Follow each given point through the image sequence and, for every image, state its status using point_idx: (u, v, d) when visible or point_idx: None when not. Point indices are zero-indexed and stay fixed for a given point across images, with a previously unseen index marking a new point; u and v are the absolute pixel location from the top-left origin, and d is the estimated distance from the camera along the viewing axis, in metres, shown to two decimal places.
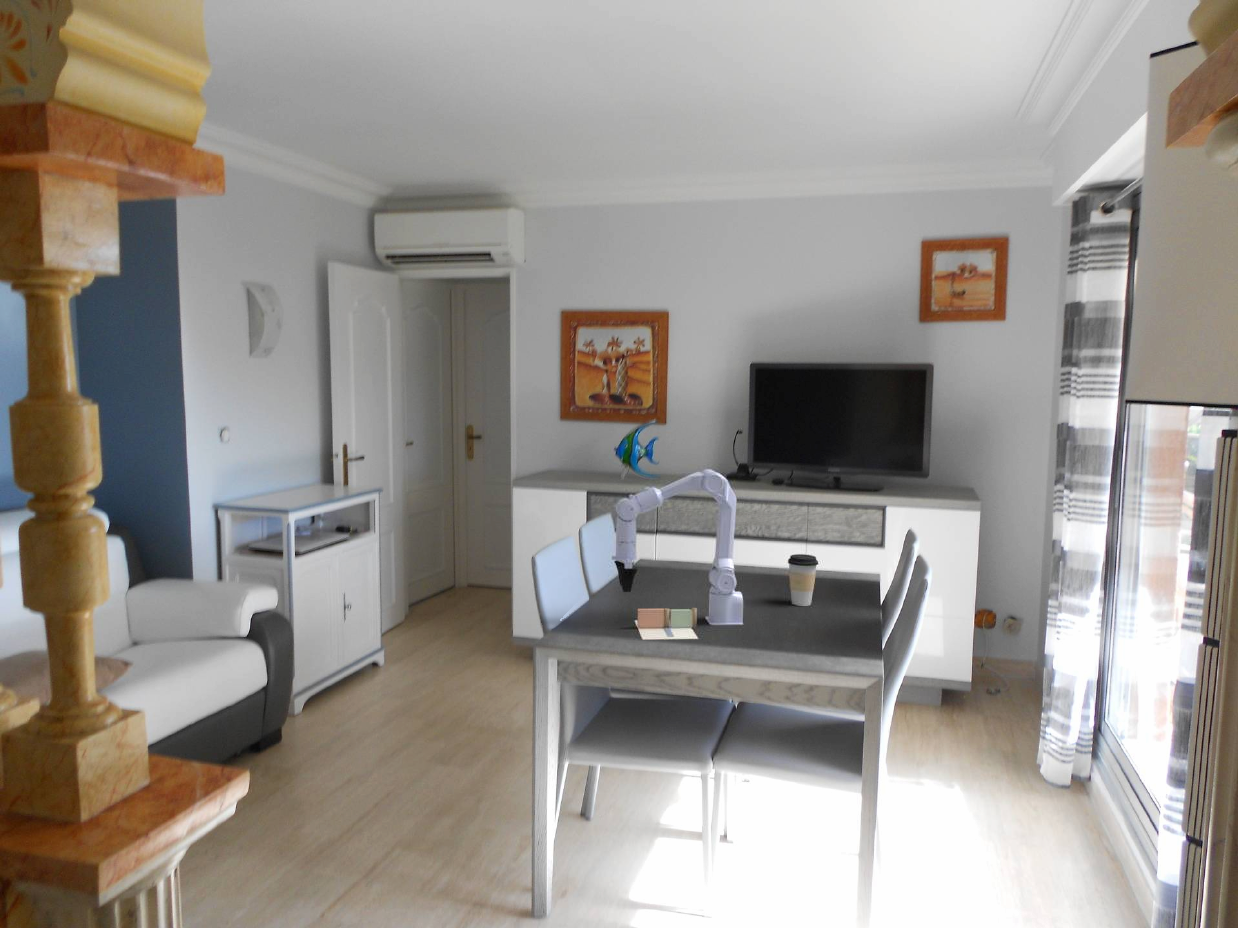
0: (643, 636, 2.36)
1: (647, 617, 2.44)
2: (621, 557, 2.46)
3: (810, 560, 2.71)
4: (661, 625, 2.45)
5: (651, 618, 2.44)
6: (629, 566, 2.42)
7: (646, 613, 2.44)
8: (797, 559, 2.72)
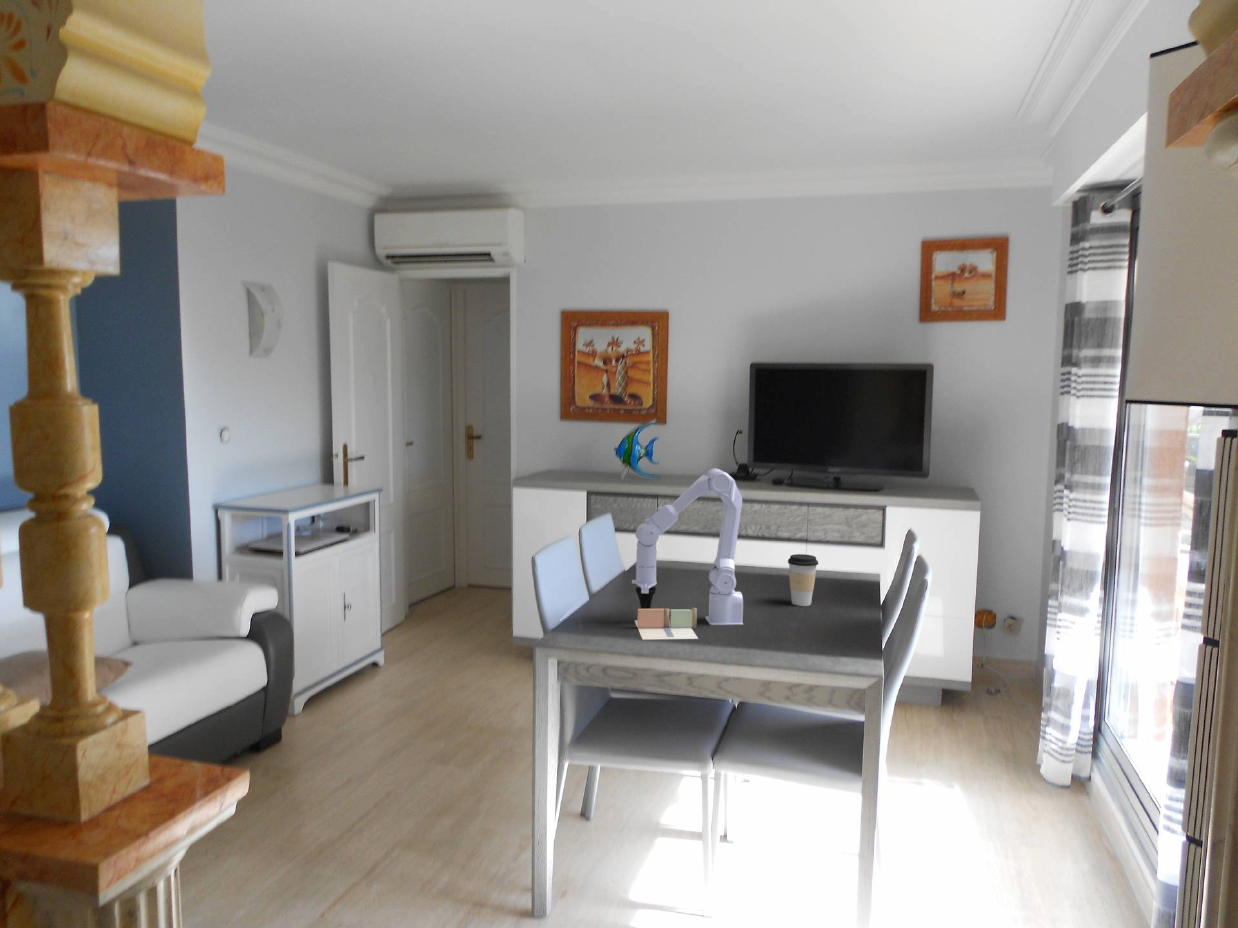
0: (643, 636, 2.36)
1: (647, 617, 2.44)
2: (640, 581, 2.48)
3: (810, 560, 2.71)
4: (661, 625, 2.45)
5: (651, 618, 2.44)
6: (645, 591, 2.43)
7: (646, 613, 2.44)
8: (797, 559, 2.72)
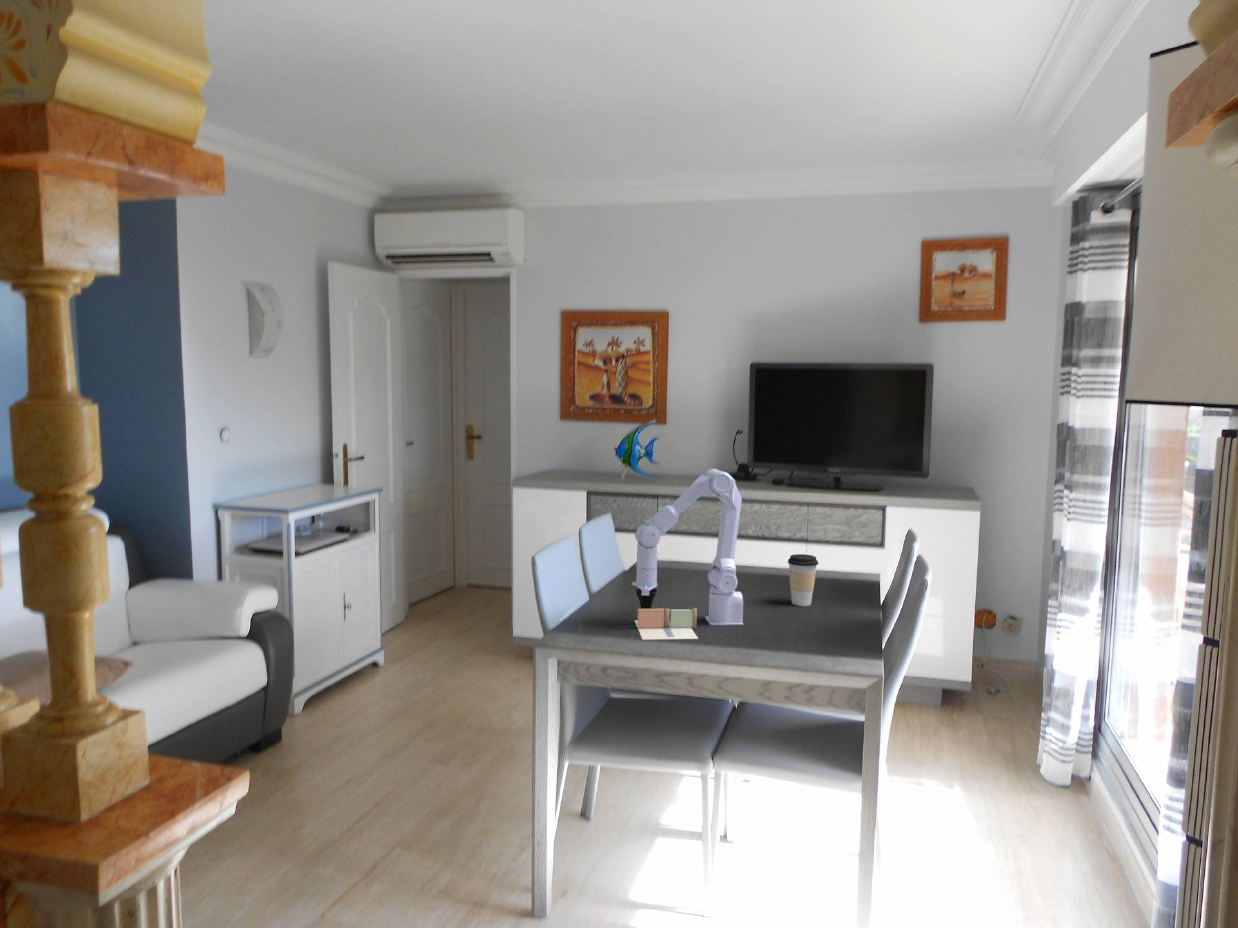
0: (643, 636, 2.36)
1: (647, 617, 2.44)
2: (640, 583, 2.46)
3: (810, 560, 2.71)
4: (661, 625, 2.45)
5: (651, 618, 2.44)
6: (646, 593, 2.41)
7: (646, 613, 2.44)
8: (797, 559, 2.72)
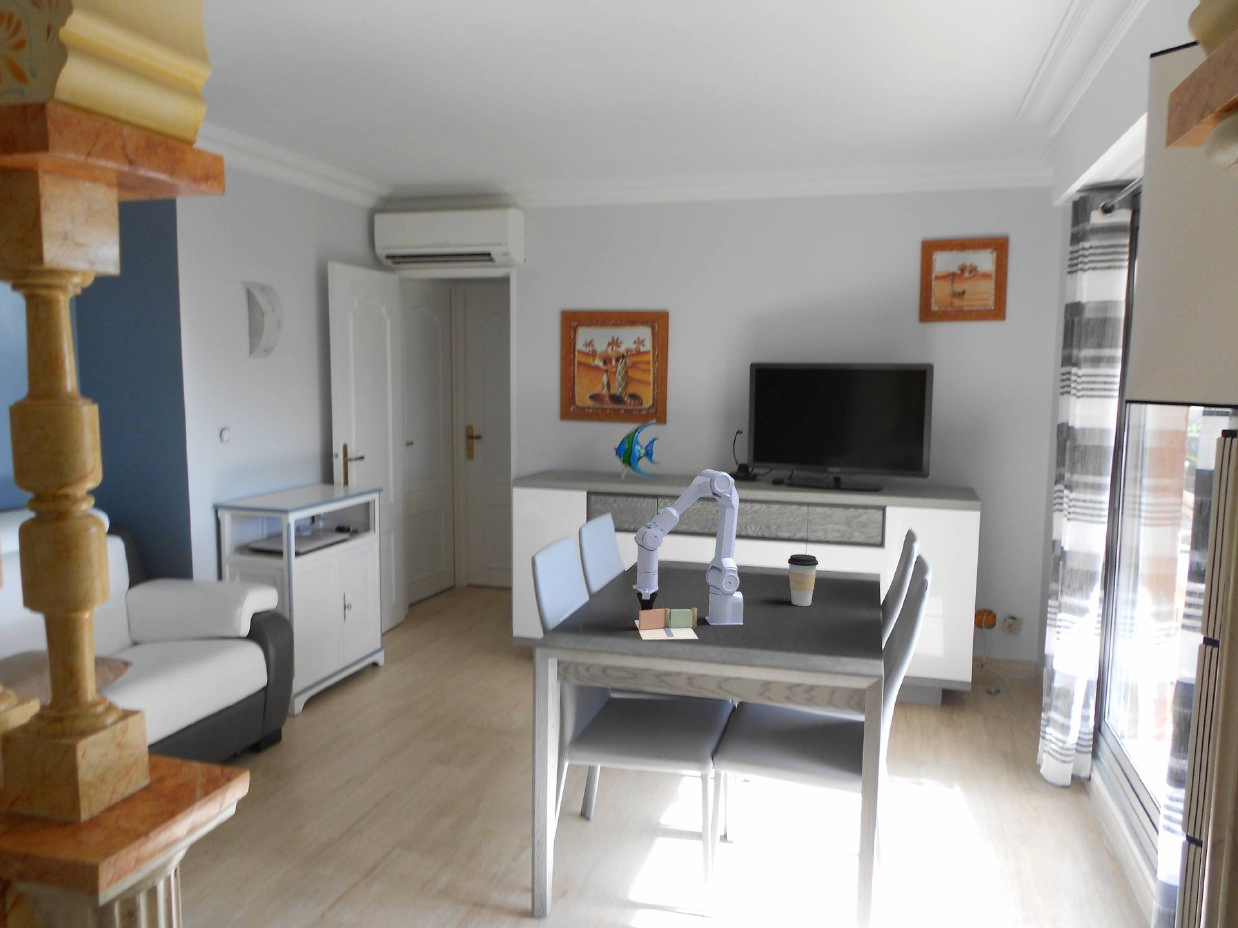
0: (643, 636, 2.36)
1: (649, 618, 2.43)
2: (641, 587, 2.42)
3: (810, 560, 2.71)
4: (662, 625, 2.44)
5: (653, 619, 2.43)
6: (646, 597, 2.37)
7: (648, 614, 2.43)
8: (797, 559, 2.72)
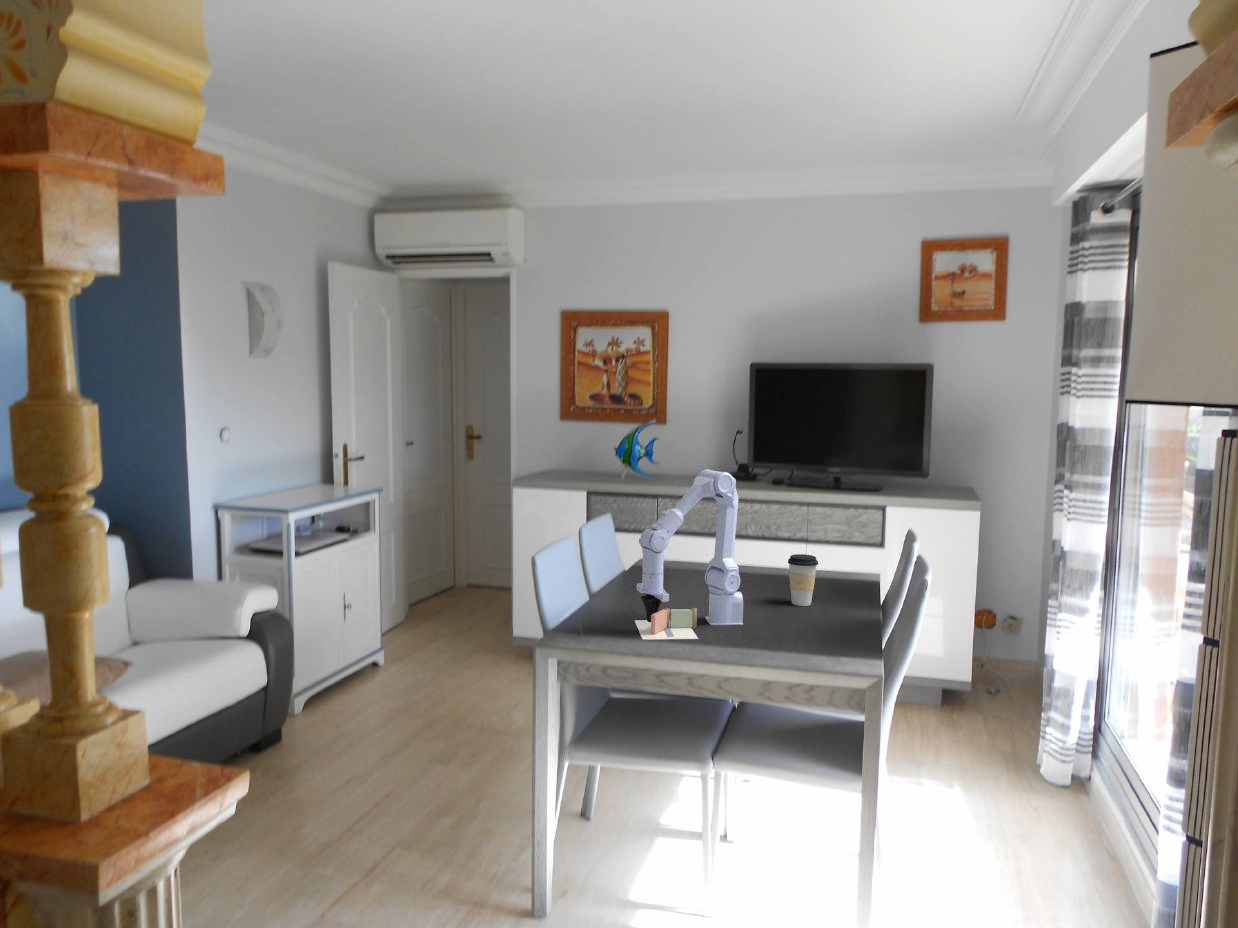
0: (643, 636, 2.36)
1: (659, 621, 2.40)
2: (652, 590, 2.38)
3: (810, 560, 2.71)
4: (665, 626, 2.44)
5: (661, 621, 2.41)
6: (666, 599, 2.35)
7: (658, 617, 2.40)
8: (797, 559, 2.72)
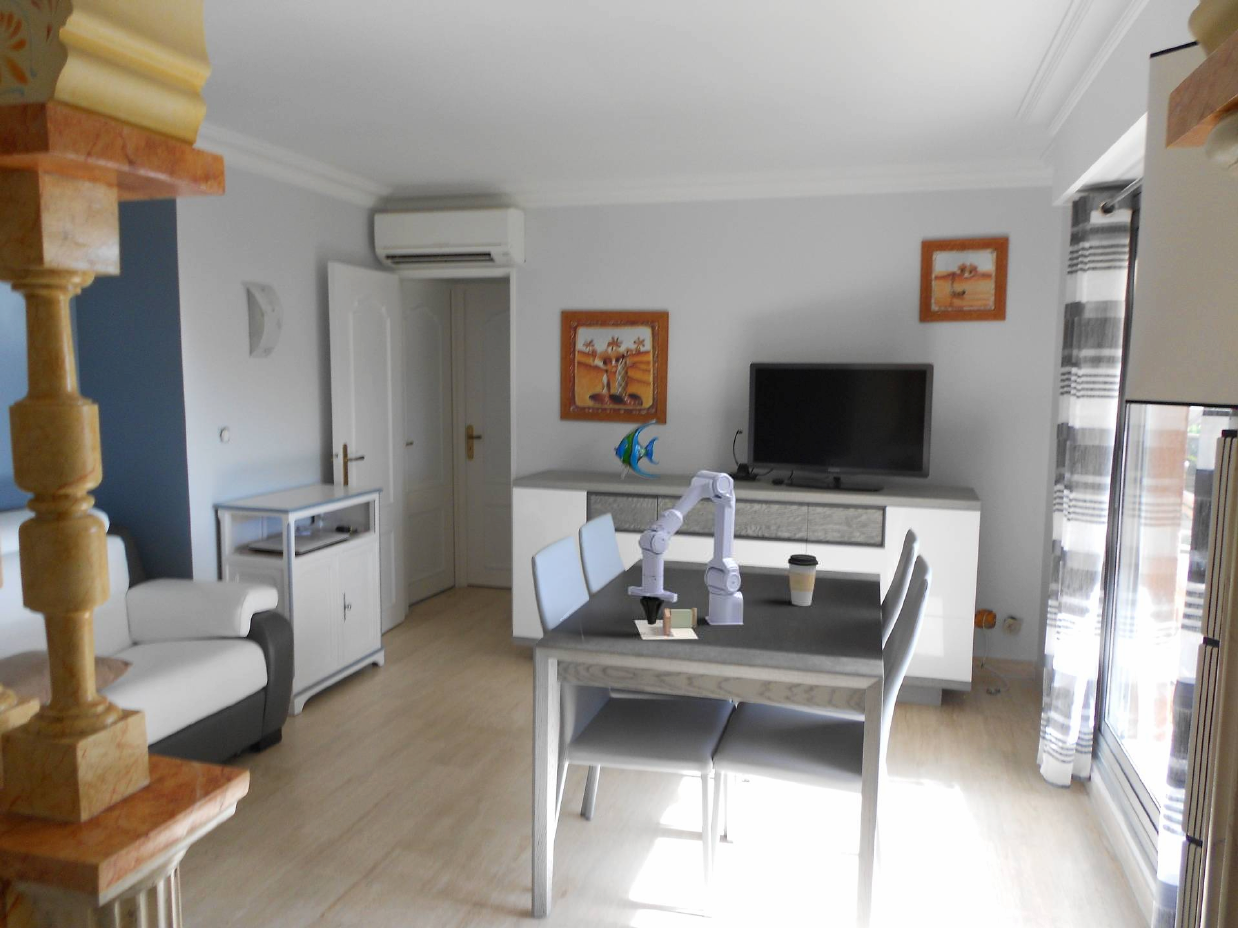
0: (643, 636, 2.36)
1: None
2: (657, 592, 2.36)
3: (810, 560, 2.71)
4: None
5: None
6: (675, 599, 2.35)
7: None
8: (797, 559, 2.72)
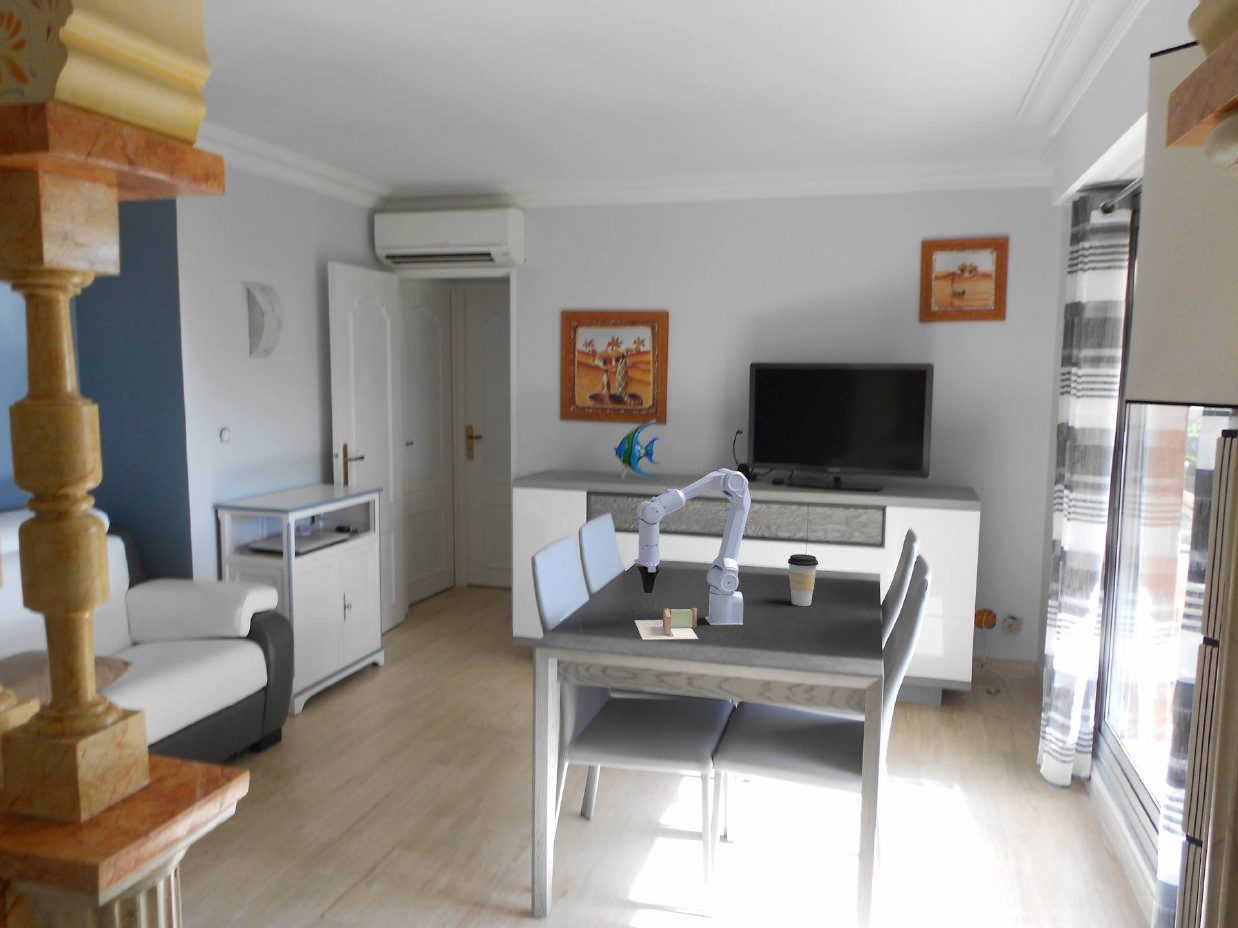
0: (643, 636, 2.36)
1: None
2: (644, 560, 2.43)
3: (810, 560, 2.71)
4: None
5: None
6: (652, 570, 2.38)
7: None
8: (797, 559, 2.72)
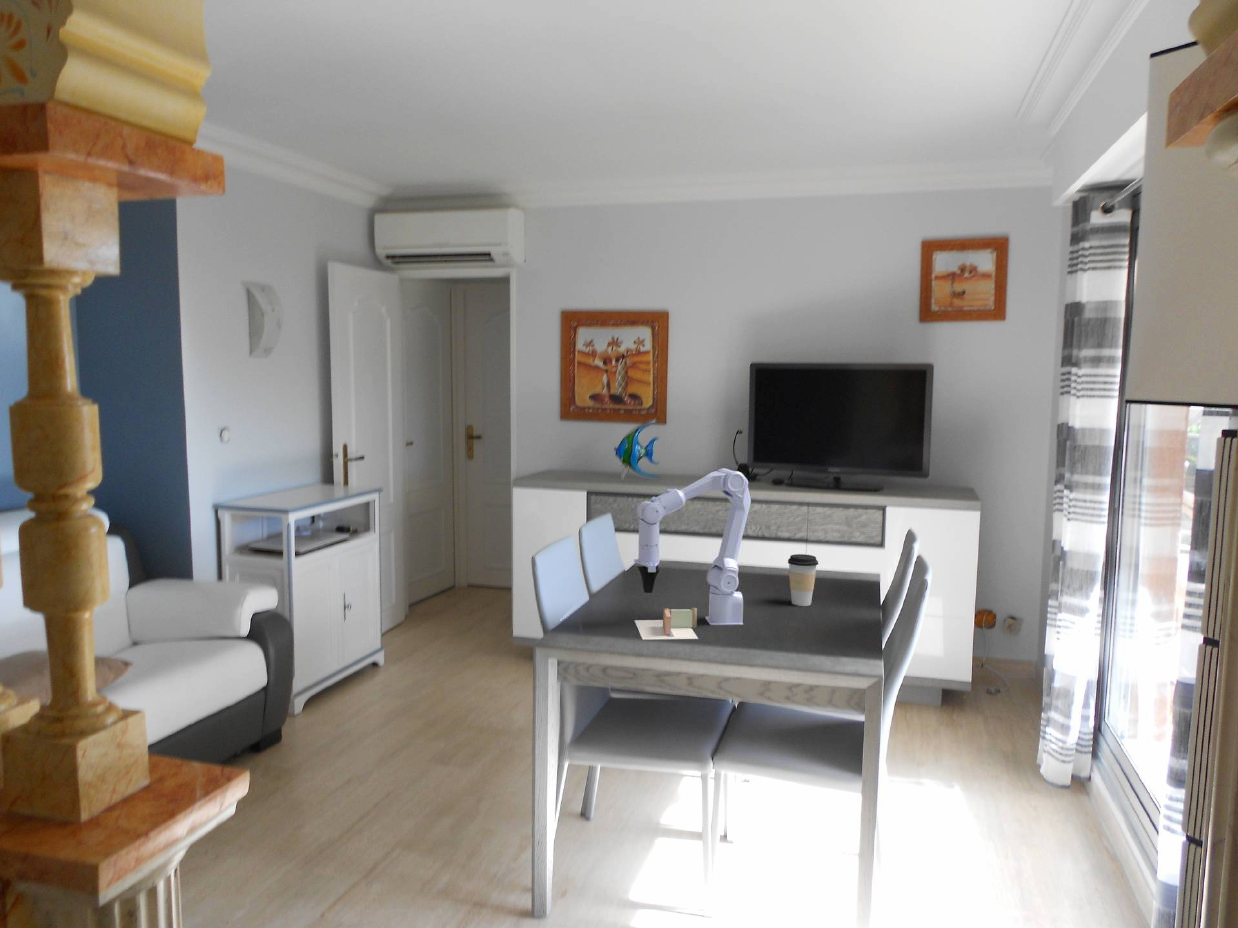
0: (643, 636, 2.36)
1: None
2: (644, 560, 2.43)
3: (810, 560, 2.71)
4: None
5: None
6: (652, 570, 2.38)
7: None
8: (797, 559, 2.72)
